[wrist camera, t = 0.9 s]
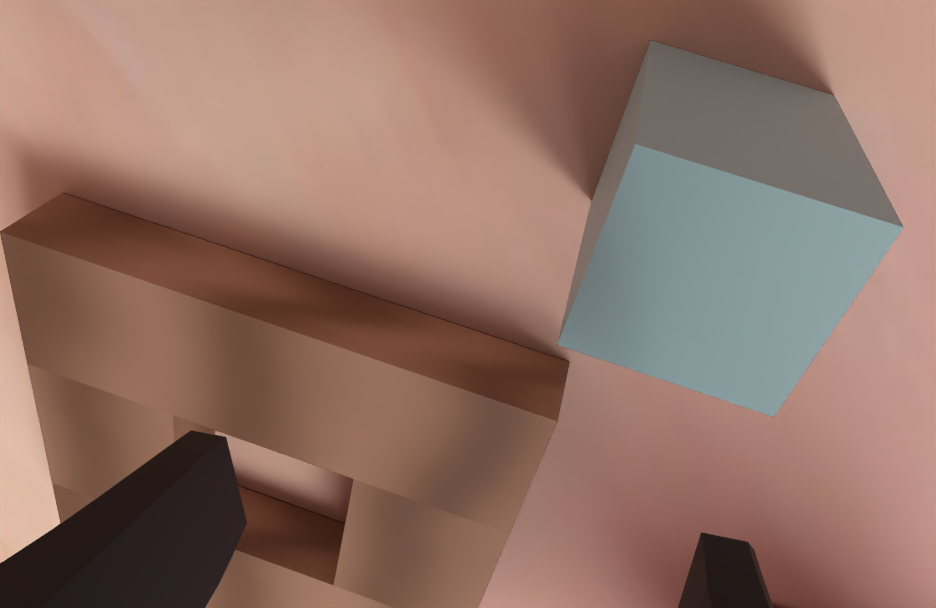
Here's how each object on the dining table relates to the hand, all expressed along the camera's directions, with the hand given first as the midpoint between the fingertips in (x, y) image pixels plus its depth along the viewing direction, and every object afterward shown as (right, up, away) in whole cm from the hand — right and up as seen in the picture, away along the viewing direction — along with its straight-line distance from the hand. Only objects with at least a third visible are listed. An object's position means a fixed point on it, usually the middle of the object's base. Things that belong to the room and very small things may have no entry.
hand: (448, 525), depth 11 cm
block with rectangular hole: (-6, -2, +15) cm, 16 cm away
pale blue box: (+6, +7, +6) cm, 10 cm away
